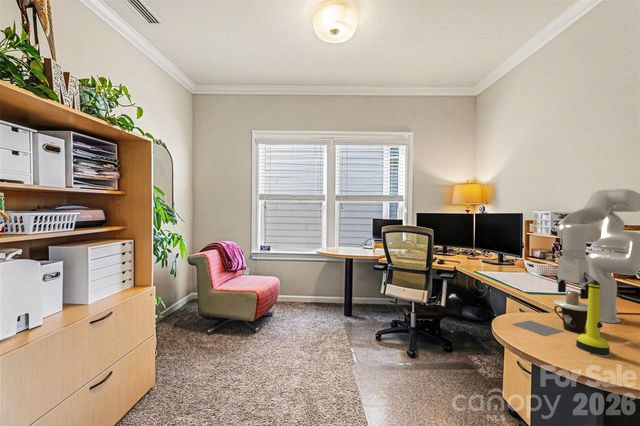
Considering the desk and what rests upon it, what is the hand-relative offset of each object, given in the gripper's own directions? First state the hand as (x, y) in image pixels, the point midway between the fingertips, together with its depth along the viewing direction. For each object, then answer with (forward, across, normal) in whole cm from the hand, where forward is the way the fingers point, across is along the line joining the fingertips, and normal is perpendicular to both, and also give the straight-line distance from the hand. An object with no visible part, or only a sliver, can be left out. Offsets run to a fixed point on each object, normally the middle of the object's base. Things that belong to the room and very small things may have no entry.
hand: (572, 295), depth 124 cm
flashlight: (+15, +18, -11) cm, 25 cm away
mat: (+14, -2, -14) cm, 20 cm away
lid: (+5, 0, 0) cm, 5 cm away
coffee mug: (+15, 0, 0) cm, 15 cm away
